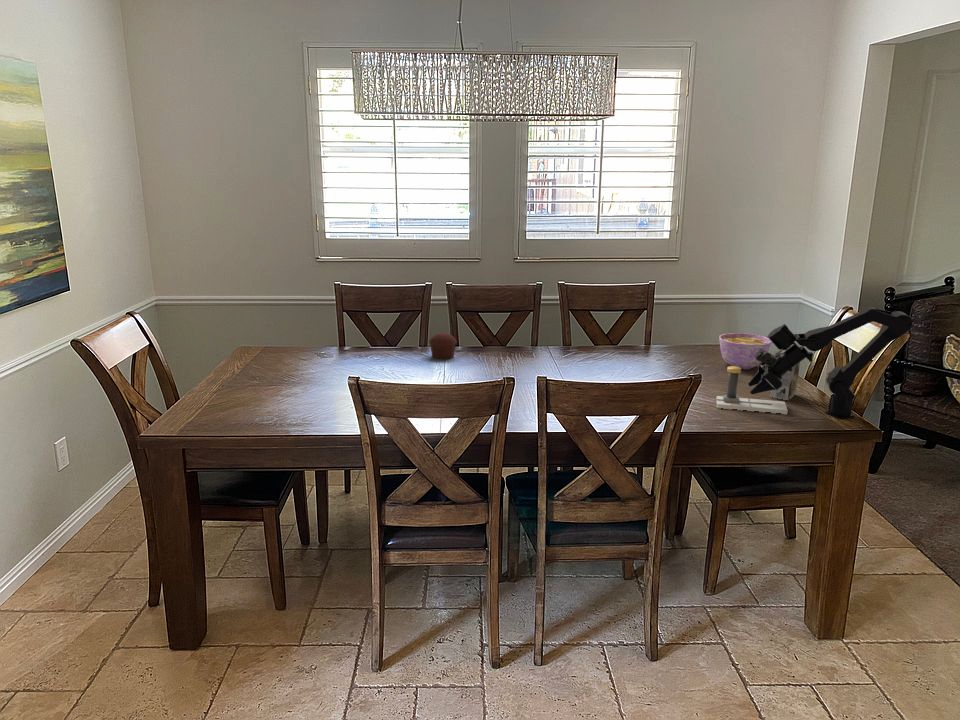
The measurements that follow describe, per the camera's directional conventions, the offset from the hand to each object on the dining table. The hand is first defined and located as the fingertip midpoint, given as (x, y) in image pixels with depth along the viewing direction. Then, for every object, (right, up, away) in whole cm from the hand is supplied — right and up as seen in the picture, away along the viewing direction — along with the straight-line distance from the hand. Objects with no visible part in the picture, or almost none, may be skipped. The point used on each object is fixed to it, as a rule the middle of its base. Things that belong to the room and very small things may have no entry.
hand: (749, 389), depth 246 cm
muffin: (-106, +11, +61) cm, 123 cm away
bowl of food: (+15, +7, +50) cm, 53 cm away
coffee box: (+17, -3, +13) cm, 21 cm away
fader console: (+1, -6, +1) cm, 6 cm away
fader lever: (-5, -4, +3) cm, 7 cm away
